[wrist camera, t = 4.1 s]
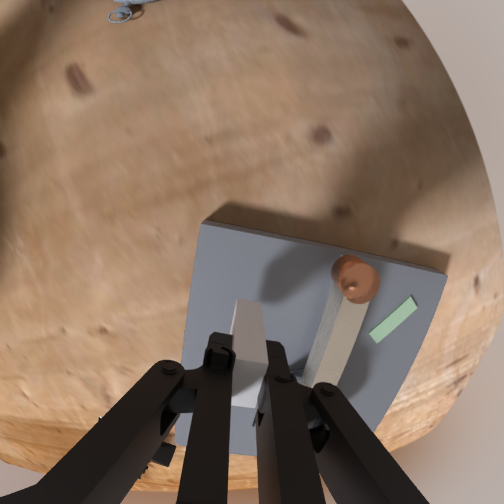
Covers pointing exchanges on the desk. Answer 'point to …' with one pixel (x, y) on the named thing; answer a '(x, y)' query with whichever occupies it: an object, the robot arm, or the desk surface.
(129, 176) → the desk surface
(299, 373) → the rotary pointer lever
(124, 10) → the pocket watch
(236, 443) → the stand
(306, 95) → the desk surface
